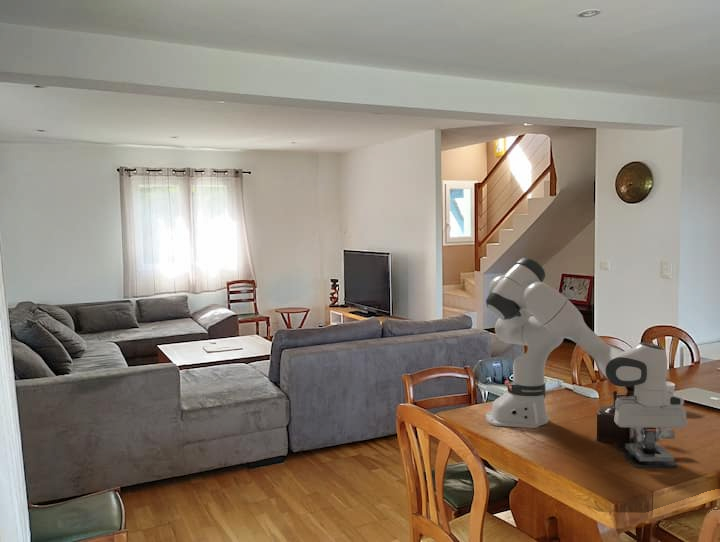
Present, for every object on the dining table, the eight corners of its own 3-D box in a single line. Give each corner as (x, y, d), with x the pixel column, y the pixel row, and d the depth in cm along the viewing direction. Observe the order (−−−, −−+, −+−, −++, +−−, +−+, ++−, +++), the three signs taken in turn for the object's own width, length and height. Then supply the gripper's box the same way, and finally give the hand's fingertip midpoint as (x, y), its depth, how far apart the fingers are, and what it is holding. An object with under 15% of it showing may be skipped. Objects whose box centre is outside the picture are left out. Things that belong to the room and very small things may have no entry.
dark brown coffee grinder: (631, 447, 194) (633, 392, 192) (595, 441, 199) (596, 388, 198) (637, 432, 207) (638, 381, 206) (603, 427, 213) (604, 377, 211)
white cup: (652, 410, 230) (653, 385, 230) (650, 404, 238) (651, 380, 237) (675, 412, 227) (676, 386, 227) (673, 406, 235) (673, 381, 234)
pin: (645, 455, 180) (646, 429, 179) (640, 450, 183) (641, 425, 183) (657, 455, 180) (657, 429, 179) (652, 450, 183) (652, 425, 183)
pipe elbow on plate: (635, 467, 178) (636, 419, 176) (615, 447, 193) (616, 402, 192) (691, 467, 177) (692, 419, 176) (666, 447, 193) (667, 402, 191)
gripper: (619, 399, 178) (618, 444, 179) (689, 399, 177) (688, 445, 178) (611, 393, 184) (610, 436, 185) (679, 393, 183) (678, 437, 184)
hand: (649, 440), depth 182 cm, fingers closed on pin, 3 cm apart
